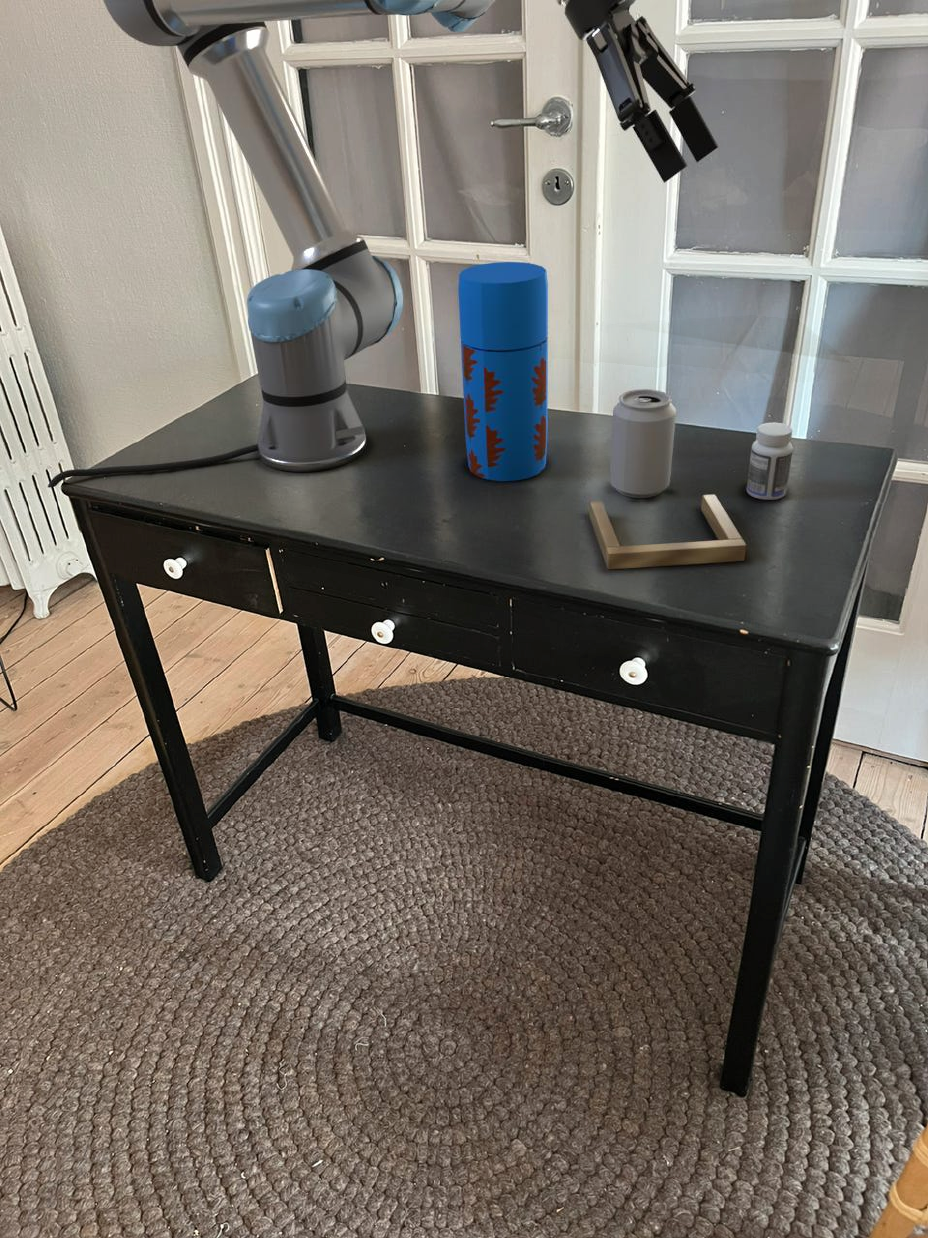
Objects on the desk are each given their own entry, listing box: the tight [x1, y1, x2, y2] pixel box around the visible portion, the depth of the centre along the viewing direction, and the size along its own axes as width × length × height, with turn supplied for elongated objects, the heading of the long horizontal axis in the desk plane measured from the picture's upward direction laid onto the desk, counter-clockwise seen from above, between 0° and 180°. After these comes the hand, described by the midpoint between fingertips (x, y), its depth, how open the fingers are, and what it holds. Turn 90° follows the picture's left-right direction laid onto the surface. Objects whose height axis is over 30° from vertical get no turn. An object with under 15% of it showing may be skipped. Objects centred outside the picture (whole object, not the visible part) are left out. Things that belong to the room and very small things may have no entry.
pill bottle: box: [746, 422, 794, 501], centre depth 111 cm, size 5×5×8 cm
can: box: [609, 388, 677, 499], centre depth 113 cm, size 8×8×12 cm
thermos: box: [457, 261, 549, 482], centre depth 117 cm, size 11×11×25 cm
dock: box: [589, 494, 747, 570], centre depth 105 cm, size 15×12×2 cm
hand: (692, 164), depth 103 cm, fingers open, 13 cm apart
